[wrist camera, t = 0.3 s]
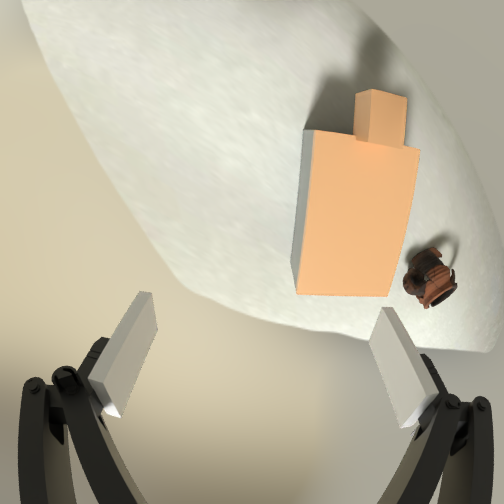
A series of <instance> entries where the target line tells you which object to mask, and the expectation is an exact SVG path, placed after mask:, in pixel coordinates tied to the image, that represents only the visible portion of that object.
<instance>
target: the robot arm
mask: <svg viewBox="0 0 504 504" xmlns="http://www.w3.org/2000/svg"><path fill="white" fill-rule="evenodd" d="M157 330H158V328H157V323H156V317H155V311H154V304H153V298H152V293H150V292H142V291H140V292H139V293H138V295H137V296H136V298H135V299H134V301H133V302H132V304H131V305H130V307H129V308H128V310H127V312H126V313H125V315H124V317H123V318H122V320H121V321H120V323H119V325H118V326H117V328H116V330H115V331H114V333H113V335H112V336H111V338H104V337H101V338H100V339H99V340H97V341H96V342H95V343H94V344H93V346H92V347H91V349H90V351H89V352H88V354H87V357H85V359H84V361H83V362H82V364H81V366H80V367H79V369H78V371H76V369H75V368H73V367H71V366H62V367H60V368H58V369H57V370H55V371H54V373H53V375H52V382H53V384H54V385H46V384H45V382H44V381H43V379H41V378H39V377H34V378H30V379H29V380H27V381H26V382H25V384H24V387H23V392H22V400H21V409H20V419H19V436H18V474H19V475H18V476H19V491H20V501H21V504H77V503H76V499H75V493H74V487H73V481H72V474H71V467H70V457H69V445H68V430H67V425H68V428H69V431H70V434H71V438H72V441H73V443H74V446H75V449H76V452H77V455H78V458H79V460H80V463H81V465H82V468H83V470H84V472H85V475H86V477H87V480H88V482H89V484H90V486H91V489H92V491H93V493H94V495H95V497H96V499H97V501H98V503H99V504H147V502H146V501H145V499H144V497H143V496H142V494H141V492H140V491H139V489H138V487H137V486H136V484H135V483H134V481H133V479H132V477H131V475H130V473H129V472H128V470H127V468H126V466H125V464H124V462H123V460H122V458H121V456H120V454H119V452H118V451H117V448H116V446H115V444H114V442H113V440H112V438H111V436H110V433H109V431H108V429H107V426H106V424H105V422H104V419H103V417H102V415H101V412H102V410H103V408H104V409H105V411H106V413H107V414H109V415H113V416H116V417H119V418H121V417H122V415H123V412H124V410H125V407H126V404H127V402H128V399H129V397H130V394H131V392H132V389H133V387H134V384H135V382H136V380H137V377H138V375H139V372H140V370H141V368H142V365H143V363H144V360H145V358H146V356H147V353H148V351H149V349H150V346H151V344H152V342H153V340H154V337H155V335H156V333H157ZM369 345H370V347H371V350H372V352H373V355H374V357H375V360H376V362H377V365H378V368H379V370H380V373H381V376H382V378H383V381H384V383H385V386H386V389H387V392H388V395H389V397H390V400H391V403H392V406H393V409H394V412H395V415H396V418H397V421H398V424H399V427H400V428H404V427H409V426H412V425H413V424H414V423H415V422H416V421H417V420H419V423H420V425H419V426H418V427H417V428H416V429H415V430H414V431H413V432H412V434H411V435H410V436H412V435H413V434H414V433H415V434H414V436H413V438H412V441H411V443H410V445H409V447H408V449H407V451H406V454H405V455H404V457H403V459H402V461H401V463H400V465H399V467H398V469H397V471H396V473H395V475H394V476H393V478H392V480H391V482H390V483H389V485H388V487H387V488H386V490H385V492H384V493H383V495H382V497H381V498H380V500H379V501H378V503H377V504H429V502H430V500H431V498H432V496H433V494H434V491H435V489H436V487H437V484H438V482H439V480H440V477H441V475H442V472H443V475H442V482H441V488H440V493H439V498H438V503H437V504H491V497H492V487H493V471H494V440H493V422H492V411H491V405H490V403H489V401H488V400H487V399H486V398H485V397H482V396H478V397H476V398H475V399H474V400H473V401H472V402H461V401H460V399H459V398H458V397H457V396H455V395H454V394H449V393H448V392H447V389H446V388H445V385H444V383H443V382H442V380H441V378H440V376H439V374H438V372H437V370H436V369H435V366H434V365H433V363H432V361H431V359H429V357H427V356H426V355H425V354H419V352H418V350H417V349H416V347H415V345H414V343H413V341H412V340H411V338H410V336H409V334H408V332H407V331H406V329H405V327H404V326H403V324H402V322H401V320H400V319H399V317H398V315H397V314H396V312H395V310H394V309H393V307H382V308H381V311H380V314H379V316H378V319H377V322H376V324H375V327H374V329H373V332H372V334H371V337H370V339H369Z"/></svg>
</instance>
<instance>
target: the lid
mask: <svg viewBox="0 0 504 504" xmlns="http://www.w3.org/2000/svg"><path fill="white" fill-rule="evenodd" d="M406 111H407V98H405V97H402V96H398V95H395V94H391V93H387V92H384V91H380V90H375V89H369V90H366V91H362V92H359V93H356V95H355V112H354V125H353V135H348V134H342V133H335V132H328V131H320V130H314V134H313V147H312V158H311V169H310V180H309V189H308V199H307V208H306V217H305V225H304V233H303V241H302V249H301V256H300V264H299V271H298V278H297V284H296V293H297V294H298V295H326V296H373V297H388V293H389V290H390V287H391V284H392V281H393V277H394V274H395V271H396V267H397V264H398V260H399V256H400V253H401V249H402V245H403V241H404V237H405V233H406V228H407V224H408V220H409V215H410V210H411V205H412V200H413V195H414V189H415V183H416V177H417V170H418V163H419V156H420V149H416V148H412V147H408V146H404V136H405V125H406Z"/></svg>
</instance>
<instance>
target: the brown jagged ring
mask: <svg viewBox="0 0 504 504" xmlns="http://www.w3.org/2000/svg"><path fill="white" fill-rule="evenodd" d="M439 257H442V254H441V253H440V252H439V251H438V250H437V249H436V248H430V249H427V250H424V251H422V252H421V253H419V254H417V255H416V256H415V257H414V258H413V259H412V263H413V265H414V268H411V269H409V270H408V272H407V273H406V274H405V276H404V278H403V287H404V289H405V291H406V292H407V293H408V294H410V295H416V297H417V299H419V302H420V303H421V304H423V306H424V309H428V308H429V304H431V306H432V307H434V306H436V305H438V304H439V303H441V302H442V301H444V300H445V299H446V298H448V297H449V296H450V295H451V294H452V293H453V292H454V291H455V290H456V288H457V283H455V271H454V270H453V269H452V275H451V277H450V269H449V268H448V267H447V266H445V265H444V264H443V263H442V261H440V259H439ZM424 276H427V277H428V278H429V280H427V281H425V280H424Z"/></svg>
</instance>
